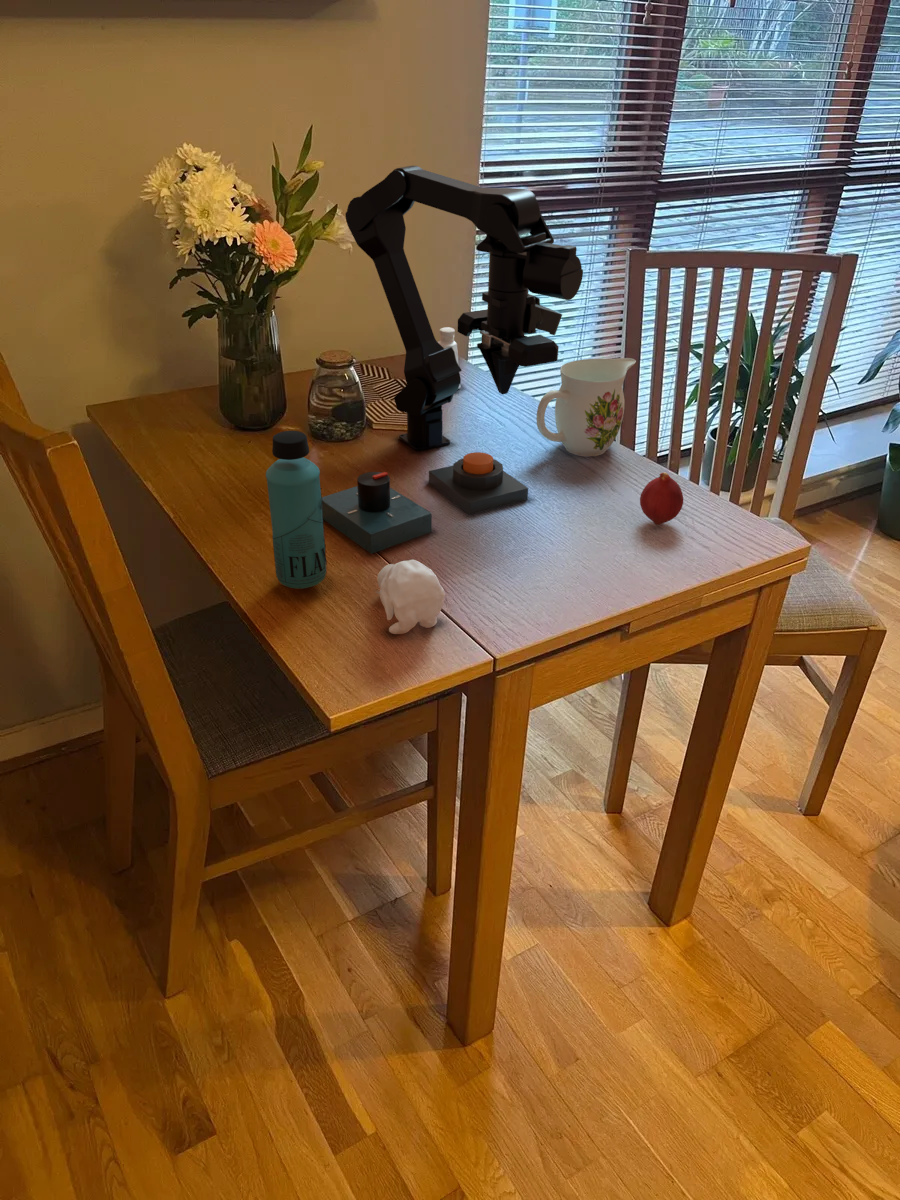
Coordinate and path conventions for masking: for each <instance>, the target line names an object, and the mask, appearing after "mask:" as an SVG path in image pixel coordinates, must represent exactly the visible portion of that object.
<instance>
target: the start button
mask: <svg viewBox="0 0 900 1200" xmlns="http://www.w3.org/2000/svg"><path fill="white" fill-rule="evenodd" d="M462 459H463V470H464V471H465V472H468V473H472V474H487V473H491V472H492V471H493V459H494V457H493V456H492V455H491V454H489V453H486V452H481V451H477V452H469V453H466V454H465V455H464V456H463V458H462Z"/></svg>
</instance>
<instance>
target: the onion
mask: <svg viewBox="0 0 900 1200" xmlns="http://www.w3.org/2000/svg"><path fill="white" fill-rule="evenodd" d="M639 505H640V508H641V510H642V513H643V514H644V515H645V516H646V517H647V518H648V519H649V520H650V521H652V523H653V524H654V525H656V526H660V525H663V524H664V523H668V522H669V521H670V522H671V521H672V520H673V519H675V518H676V517H677V516H678V515H679V513H680V512H681V511H682V508H683V505H684V494H683V491H682V488H681V486H680V485H679V484H678V482H677V481H676V480H674V479H673V478H672V477H671V476H670V474H669V473H667V472H665V471H663V472H660V473H659V477H655V478H653V479H652V480H651V481H649V482H648V483H646V485H645V486H644V488H643V490H642V491H641V493H640V497H639Z"/></svg>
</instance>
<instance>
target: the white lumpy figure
mask: <svg viewBox="0 0 900 1200" xmlns="http://www.w3.org/2000/svg"><path fill="white" fill-rule="evenodd" d="M377 586H378V588H379V590H377V589H376V592H374V593H375V594H376V595H378V596H377V598H380V603H381V604H382V606H383V608H384V611H385V615H386V619H387V621H391V620H392V619H393V618H394V616H395V618H396V620H397V622H395V623H393V624H391V625H390V626H389V627H388V632H389V633H390V634H393V635H403V634H406V633H408V632H409V631H410V630H412V629H413V628H414V627H416V626H417V624H418V623H419V625H420V626H421V627H423V628H424V629H425V628H426V629H431V628H432V627H434V626H435V625H437V623H438V616H437V615H439V613H440V612H441V611H442V608H443V604H444V599H445V589H444V588H443V586H442V585H441V583H440V580H439V577H438V576H437V575H436V573H435V572H434V571H433V570H432V569H431V568H430V567H428V566H426V565H425V564H424V563H422V562H420V561H418V560H416V559H409V560H401V561H399V562H395V563H388V564H386V565H385V566H384V567H382V568H381V569H380V571H379V572H378V574H377Z"/></svg>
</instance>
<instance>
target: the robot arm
mask: <svg viewBox="0 0 900 1200" xmlns="http://www.w3.org/2000/svg"><path fill="white" fill-rule="evenodd" d="M415 203H419V204H422V205H425V206H428V207H430V208H434V209H438V210H440V211H443V212H446V213H449V214H452V215H456V216H459V217H462V218H465V219H467V220H468V221H470V222H471V223H472V224H473V225H474V226H475V228H476V229H478V230H479V231H480V232H482V233H484V234H486V236H485V238H483V240H482V241H481V242H479V243H478V244H477V245H476V247H475V249H476V251H478V252H483V253H488V254H489V256H488V257H489V258H488V282H487V283H488V287H487V291H485V292H482V293H481V301H483V302H485V303H487V309H481V310H474V311H467V312H466V311H465V312H462V314H460V316H459V317H458V319H457V333H458V334H460V335H463V336H465V337H470V336H471V334H473V331H477V330H478V331H479V334H480V335H481V342H478V343H477V344H476V348H477V349H479V351H480V353H481V355H482V357H483V360H484V362H485V363H486V366H487V369H488V370H489V372H490V374H491V376H492V379H493V382H494V384H495V386H496V389H497V391H498V394H501V395H507V394H508V393H509V391H510V389H511V386H512V384H513V381H514V379H515V376H516V374H517V372H518V369H519V367H532V366H539V365H543V364H549V363H554V362H557V361H558V360H559V359H558V358H559V347H560V346H559V345H558V344H557V343H556V341H554V340H552V339H551V338H548V337H546V336H545V335H542V334H535V333H536V332H537V330H539V331H543V332H546V333H548V334H549V335H552V336H555V335H556V333H557V331H558V328H559V325H560V322H561V320H562V317H563V313H560V312H558V311H557V310H554V309H551V308H549V307H546V306H544V305H541V299H540V297H538V296H536V295H540V296H545V297H551V298H555V299H558V300H559V299H560V300H563V301H564V300H565V301H572V299H574V297H575V296H577V294H578V293H579V290H580V288H581V286H582V281H583V275H584V269H582V267H583V266H582V263H581V259H580V257H579V256H577V249H578V248H577V246H576V245H571V244H567V245H566V244H565V245H561V244H555V243H554V242H555V239H554V237H553V234H552V233H551V231H550V228H549V227H548V224H547V222H546V220H545V218H544V217H543V215H542V212H541V208H540V205H539V201H538V199H537V195H536V194H535V193H534V192H532V191H531V190H529V189H527V188H516V187H515V188H514V187H482V186H479V185H475V184H472V183H470V182H469V183H468V182H465V181H462V180H459V179H455V178H452V177H449V176H446V175H443V174H440V173H435V172H432V171H430V170H427V169H423V168H422V167H421V166H418V165H406V166H402V167H401V166H400V167H396V168H394V169H393V170H392V171H390V173H389V174H387V175H386V177H385V178H384V179H383V180H381V181H379V182H378V183H376V184H375V185H374V186H372V187H371V188H369V189H367V190H366V191H365V192H363V194H362V195H360V196H355V197H353V198H352V199H351V200H350V201H349V203H348V205H347V209H346V211H345V213H344V214H345V215H344V216H345V222H346V225H347V227H348V229H349V231H350V233H351V235H352V237H353V239H354V241H355V244H356V245H357V247H359V248H360V249H361V250H362V251H363V252H364V253H365V254H366V255H367V256H368V257H369V259H371V260H372V262H373V264H374V267H375V269H376V272H377V275H378V277H379V281H380V283H381V285H382V288H383V292H384V294H385V297H386V299H387V303H388V305H389V308H390V310H391V314H392V316H393V319H394V321H395V325H396V328H397V331H398V333H399V335H400V338H401V342H402V344H403V348H404V350H405V358H404V366H403V374H404V379H405V382H406V385H405V386H404V387H403V388H402V389H400V391H399V392H398V393H397V394H395V396H394V397H393V399H394V400H393V401H394V403H395V407H396V410H397V411H399V412H402V413H406V429H407V430H406V432H405V433H402V434H399V435H398V439H399V440H401V441H402V442H403V443H405V444H406V445H407V446H409V447H410V448H411V449H413V450H414V451H416V452H421V451H425V450H430V449H434V448H439V447H442V446H447V445H451V440H450V439H449V438H447V437H446V436H444V435H443V430H444V429H443V425H444V424H443V405H446V404H448V403H451V402H452V400H453V397H454V395H455V394H456V393H457V392H458V390H459V389H460V388H459V384H460V385H461V383H462V380H461V379H462V378H461V373H460V372H462V368H461V367H460V365H459V366H458V363H457V361H456V357H455V353H454V350H453V349H452V347H449V348H446V349H444V348H443V347H442V346H441V345H440V344H439V343H438V342H439V341H437V339H436V337H435V335H434V331H433V329H432V326H431V323H430V320H429V318H428V315H427V312H426V309H425V307H424V304H423V300H422V298H421V295H420V292H419V290H418V287H417V283H416V281H415V277H414V275H413V272H412V270H411V266H410V263H409V260H408V258H407V255H406V253H405V249H404V247H405V239H406V232H407V231H406V223H405V218H404V216H405V214H407V213H408V212H409V211H410V210H411V209H412V208H413V206H414V204H415ZM526 234H529V235H527V236H523V235H526ZM521 236H523V237H521ZM529 292H530V293H532V294H530V293H529ZM533 294H535V295H533ZM525 334H528V335H529V336H528V335H525ZM530 334H531V335H530ZM532 334H535V335H532ZM459 373H460V374H459ZM458 388H459V389H458Z"/></svg>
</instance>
